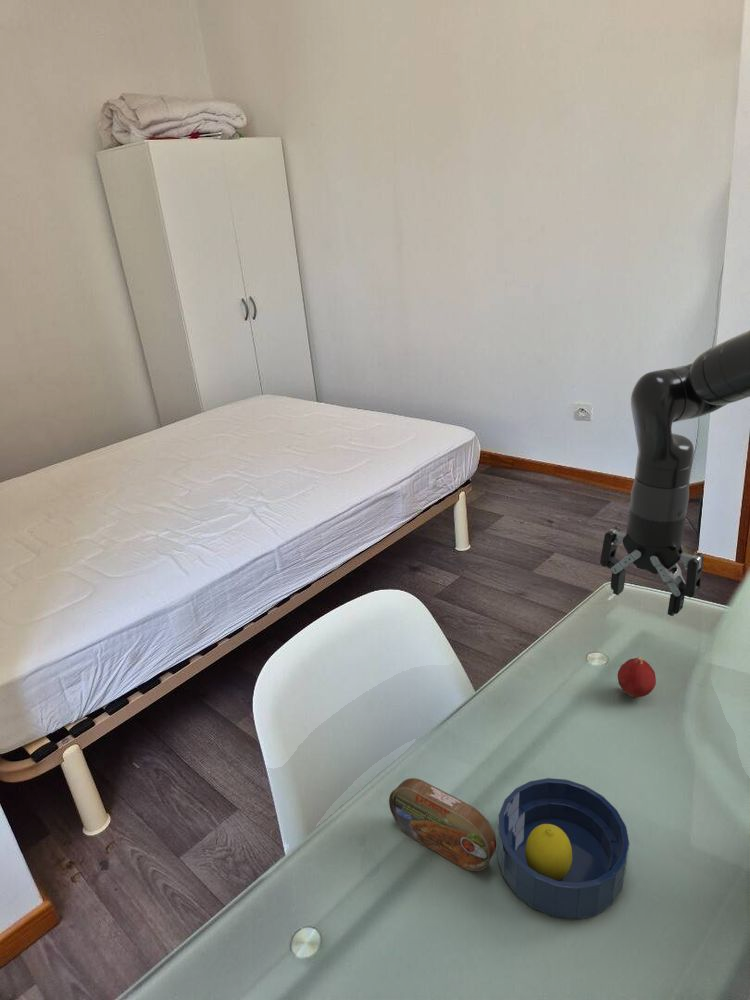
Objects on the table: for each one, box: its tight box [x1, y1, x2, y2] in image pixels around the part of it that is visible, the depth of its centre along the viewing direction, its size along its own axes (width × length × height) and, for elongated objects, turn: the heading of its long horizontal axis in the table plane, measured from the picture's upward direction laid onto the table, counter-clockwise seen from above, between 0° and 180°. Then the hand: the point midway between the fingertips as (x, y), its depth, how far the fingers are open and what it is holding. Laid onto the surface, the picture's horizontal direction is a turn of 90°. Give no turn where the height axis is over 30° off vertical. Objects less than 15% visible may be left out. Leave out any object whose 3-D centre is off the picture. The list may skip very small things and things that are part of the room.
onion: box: [617, 656, 657, 699], centre depth 111 cm, size 6×6×8 cm
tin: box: [388, 777, 497, 872], centre depth 88 cm, size 15×3×8 cm, turn 53°
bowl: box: [497, 777, 630, 920], centre depth 86 cm, size 15×15×6 cm
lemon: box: [525, 824, 572, 881], centre depth 83 cm, size 6×6×8 cm
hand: (644, 602), depth 104 cm, fingers open, 8 cm apart
